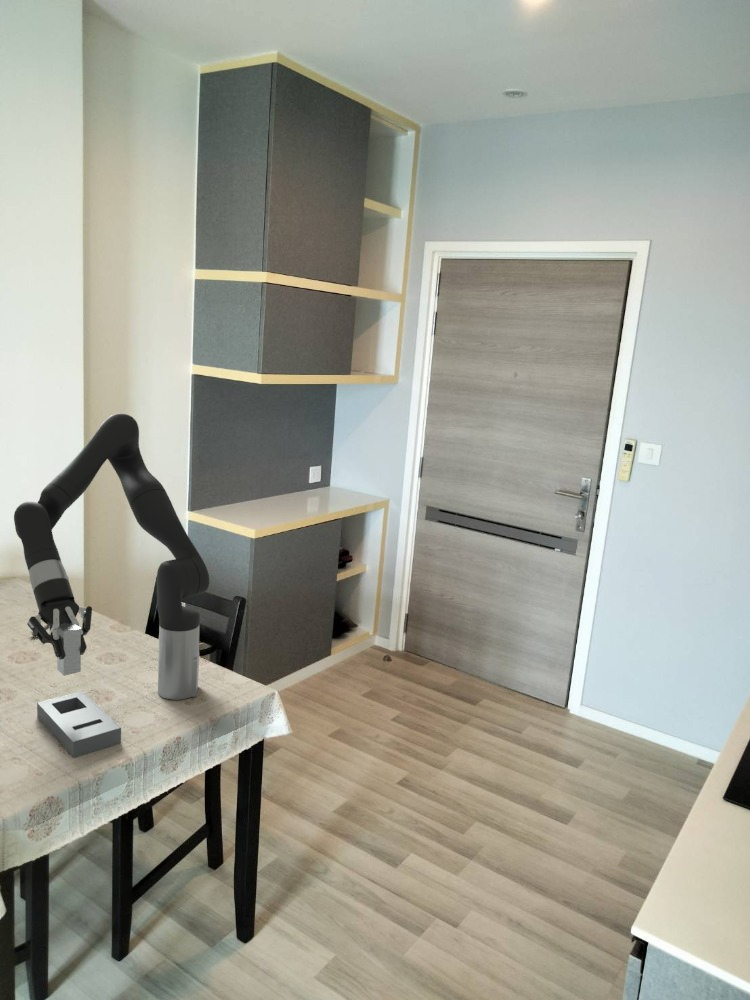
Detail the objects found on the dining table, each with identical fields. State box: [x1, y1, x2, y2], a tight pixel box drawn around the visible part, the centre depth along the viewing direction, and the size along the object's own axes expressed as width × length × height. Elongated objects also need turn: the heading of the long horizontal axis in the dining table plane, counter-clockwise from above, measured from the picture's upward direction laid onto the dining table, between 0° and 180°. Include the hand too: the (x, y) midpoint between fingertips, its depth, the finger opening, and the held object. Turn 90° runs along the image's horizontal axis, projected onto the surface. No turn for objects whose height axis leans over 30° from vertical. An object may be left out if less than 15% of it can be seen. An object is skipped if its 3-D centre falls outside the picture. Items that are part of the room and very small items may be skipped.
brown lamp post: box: [30, 624, 50, 640], centre depth 209 cm, size 2×8×4 cm, turn 126°
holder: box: [36, 690, 122, 758], centre depth 162 cm, size 20×10×4 cm, turn 43°
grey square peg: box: [56, 623, 82, 676], centre depth 163 cm, size 4×4×10 cm
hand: (72, 655), depth 161 cm, fingers closed on grey square peg, 3 cm apart
